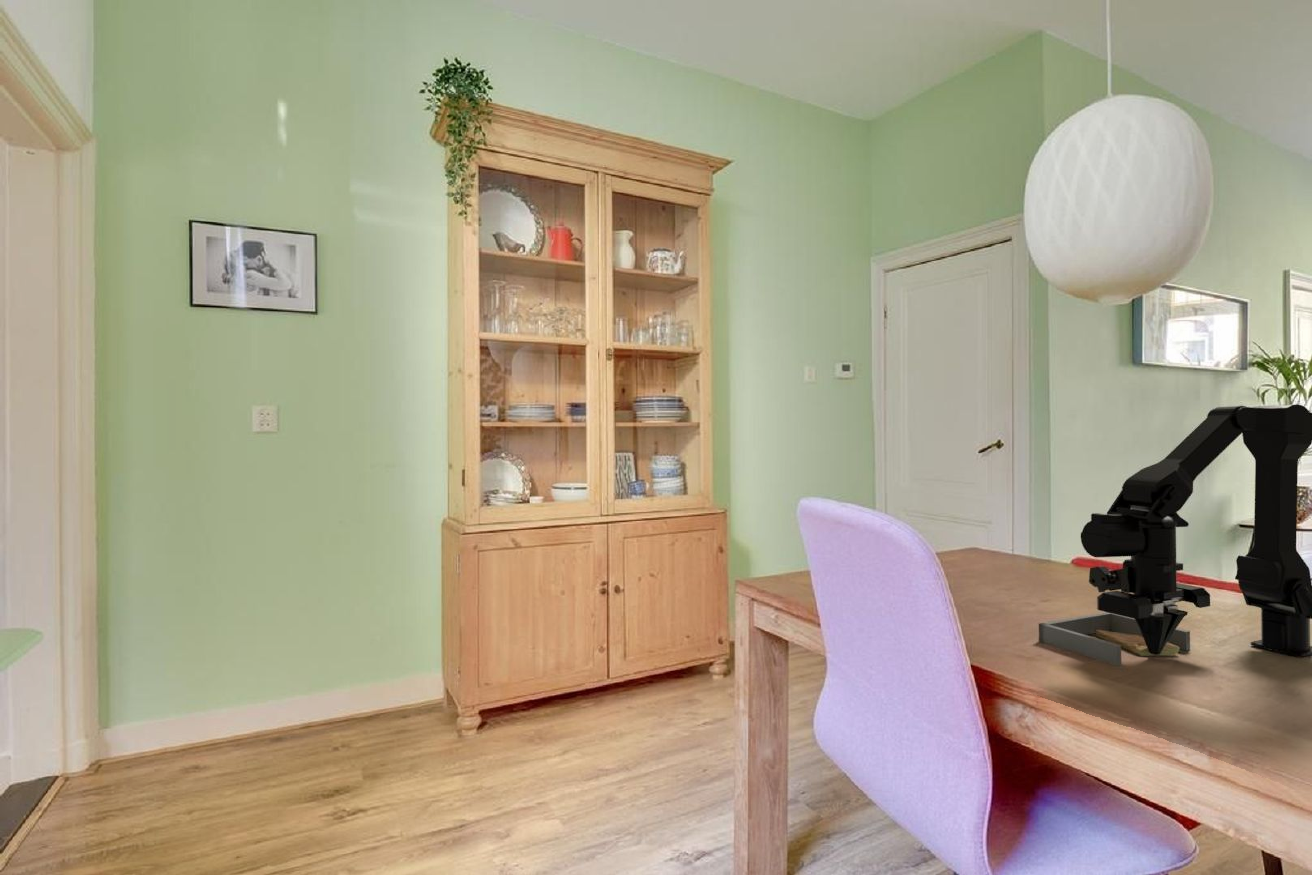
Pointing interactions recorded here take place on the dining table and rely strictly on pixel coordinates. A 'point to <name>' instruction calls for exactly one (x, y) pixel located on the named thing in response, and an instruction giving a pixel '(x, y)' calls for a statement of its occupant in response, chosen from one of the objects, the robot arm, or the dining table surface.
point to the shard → (1135, 643)
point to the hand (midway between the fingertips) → (1154, 653)
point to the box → (1076, 640)
